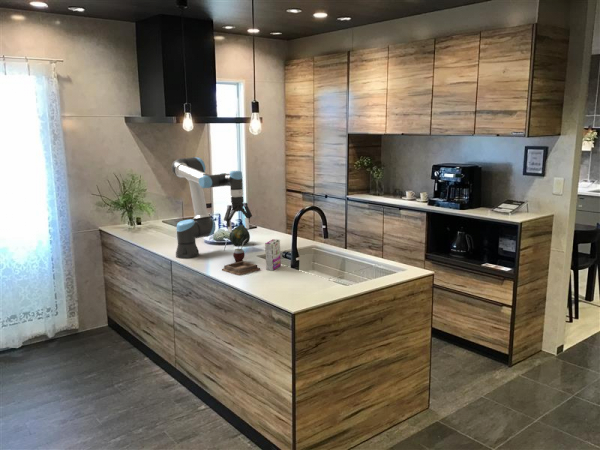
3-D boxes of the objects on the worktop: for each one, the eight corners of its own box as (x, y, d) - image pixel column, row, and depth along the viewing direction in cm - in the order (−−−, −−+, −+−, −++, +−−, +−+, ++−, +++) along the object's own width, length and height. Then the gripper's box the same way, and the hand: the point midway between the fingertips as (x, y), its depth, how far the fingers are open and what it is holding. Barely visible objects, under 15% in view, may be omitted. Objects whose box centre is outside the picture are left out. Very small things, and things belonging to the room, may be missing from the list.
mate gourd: (231, 262, 325) (230, 239, 322) (241, 259, 330) (240, 236, 327) (238, 264, 319) (237, 240, 317) (248, 261, 325) (247, 238, 322)
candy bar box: (273, 265, 316) (272, 239, 313) (280, 265, 314) (280, 239, 311) (265, 270, 306) (264, 243, 302) (273, 270, 304) (272, 243, 301)
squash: (222, 238, 368) (235, 223, 364) (230, 235, 383) (242, 220, 379) (237, 252, 367) (250, 237, 363) (244, 248, 382) (256, 233, 377)
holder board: (221, 270, 307) (221, 265, 306) (243, 264, 318) (243, 260, 317) (238, 275, 295) (238, 270, 295) (259, 269, 306) (259, 264, 306)
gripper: (224, 199, 306) (226, 234, 309) (256, 194, 323) (258, 227, 326) (216, 198, 311) (218, 232, 315) (249, 193, 328) (250, 226, 332)
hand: (238, 230), depth 321 cm, fingers open, 13 cm apart
